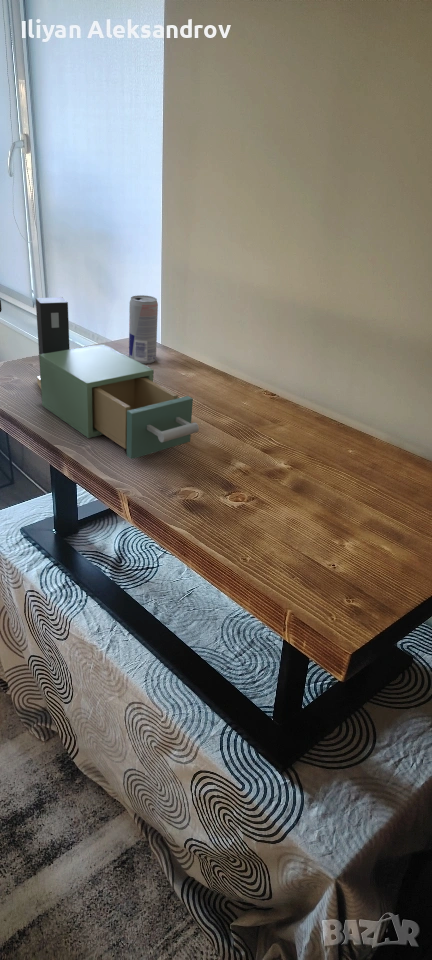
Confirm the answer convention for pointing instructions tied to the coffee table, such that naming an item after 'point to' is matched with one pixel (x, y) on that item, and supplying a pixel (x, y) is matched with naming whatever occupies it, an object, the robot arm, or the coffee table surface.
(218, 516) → the coffee table surface
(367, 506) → the coffee table surface
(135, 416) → the drawer
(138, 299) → the energy drink
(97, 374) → the cabinet
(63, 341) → the black post
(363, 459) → the coffee table surface
